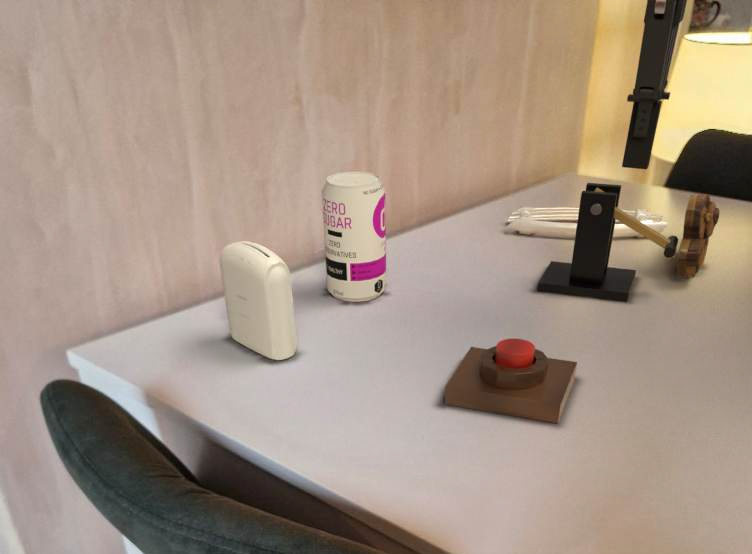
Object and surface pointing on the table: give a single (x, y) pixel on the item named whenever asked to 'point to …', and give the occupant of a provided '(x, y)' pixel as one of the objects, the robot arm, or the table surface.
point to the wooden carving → (696, 233)
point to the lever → (647, 231)
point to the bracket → (592, 252)
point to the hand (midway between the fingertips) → (635, 166)
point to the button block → (511, 385)
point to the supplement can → (355, 235)
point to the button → (514, 353)
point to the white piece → (527, 223)
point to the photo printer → (259, 299)
